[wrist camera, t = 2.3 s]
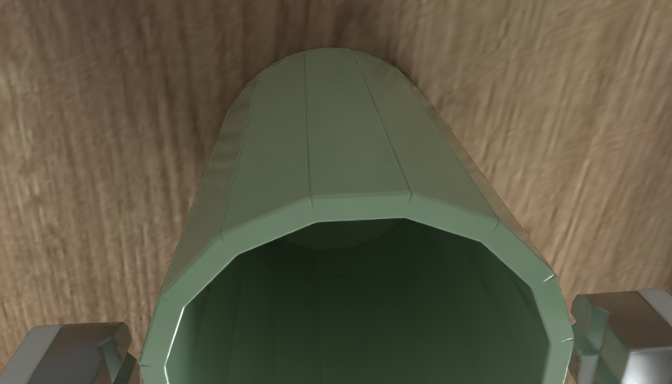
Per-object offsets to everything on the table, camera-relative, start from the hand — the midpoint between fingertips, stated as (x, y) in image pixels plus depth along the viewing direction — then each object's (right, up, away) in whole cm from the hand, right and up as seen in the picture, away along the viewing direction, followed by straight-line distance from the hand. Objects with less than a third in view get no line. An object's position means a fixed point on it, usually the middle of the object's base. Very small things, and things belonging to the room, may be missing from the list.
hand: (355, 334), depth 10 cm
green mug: (-1, +2, +7) cm, 8 cm away
